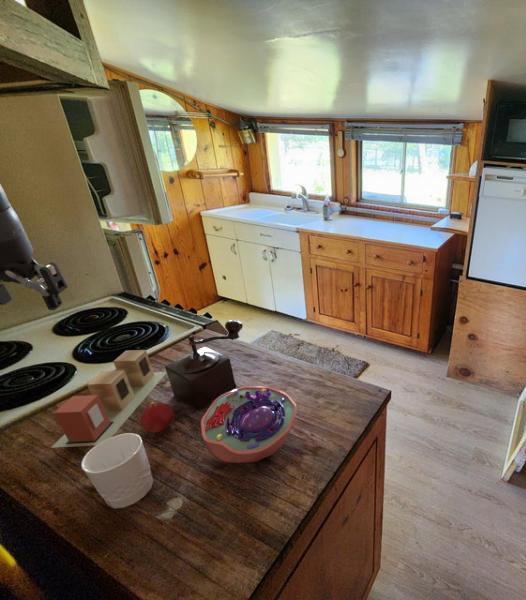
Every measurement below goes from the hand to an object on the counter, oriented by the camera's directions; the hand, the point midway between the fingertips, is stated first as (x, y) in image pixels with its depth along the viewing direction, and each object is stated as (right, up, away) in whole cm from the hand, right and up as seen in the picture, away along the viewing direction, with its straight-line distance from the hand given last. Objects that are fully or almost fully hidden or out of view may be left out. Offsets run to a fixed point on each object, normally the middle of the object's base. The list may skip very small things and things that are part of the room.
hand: (30, 305), depth 65 cm
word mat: (+8, -24, +12) cm, 28 cm away
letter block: (+9, -27, +4) cm, 29 cm away
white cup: (+26, -34, -7) cm, 43 cm away
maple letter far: (+7, -20, +19) cm, 29 cm away
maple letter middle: (+8, -24, +12) cm, 27 cm away
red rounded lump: (+22, -28, +6) cm, 36 cm away
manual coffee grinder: (+27, -22, +19) cm, 39 cm away
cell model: (+44, -30, +4) cm, 53 cm away
